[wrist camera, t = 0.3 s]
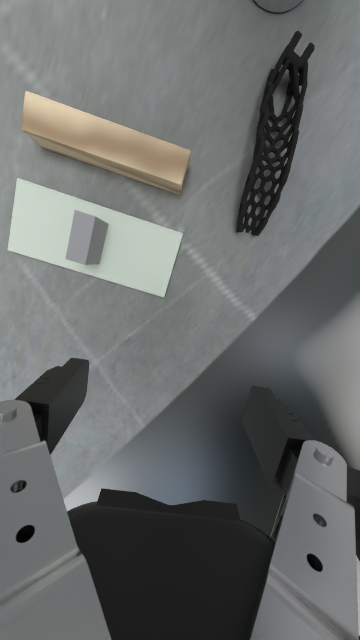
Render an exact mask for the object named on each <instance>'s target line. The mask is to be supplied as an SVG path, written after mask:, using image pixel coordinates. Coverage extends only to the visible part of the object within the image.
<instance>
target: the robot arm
mask: <svg viewBox="0 0 360 640" xmlns="http://www.w3.org/2000/svg"><path fill="white" fill-rule="evenodd" d="M254 1H255V2H256V3H257V4H258V5H259V6H261V7H262V8H264V9H265V10H268V11H271V12H285V11H288V10H291V9H292V8H294V7H296V6H297V5H298V4H299V3H301V2H302V1H303V0H254ZM88 372H89V361H88V360H85V359H78V358H71V359H70V360H69V361H68V362H67V363H66V364H65V365H63V366H62V367H60V366H57V367H54V368H52V369H50V370H47V371H46V372H45V373H44V374H43V375H42V376H40V378H38V379H37V380H36V381H35V382H34V384H31V385H30V386H29V387H28V388H27V389H26V390H25V391H24V392H23V393H21V394H20V395H19V396H18V397H17V398H16V399H15V400H7V401H2V402H0V640H360V636H359V635H358V607H357V606H358V604H357V573H356V555H357V557H358V559H359V561H360V471H359V470H356V469H353V468H351V467H348V466H347V465H346V463H345V461H344V459H343V458H342V457H341V456H340V455H339V454H338V453H337V452H336V451H335V450H333V449H332V448H330V447H329V446H327V445H325V444H323V443H320V442H318V441H314V440H313V439H312V437H311V436H310V435H309V433H308V432H307V431H306V430H305V428H304V427H303V426H302V424H301V423H300V422H298V419H297V418H296V416H294V415H293V412H291V410H290V409H289V407H288V406H287V405H285V404H284V403H283V402H282V401H280V400H279V399H277V398H276V397H275V395H274V394H273V392H272V391H271V390H270V388H267V387H261V386H252V387H251V389H250V393H249V396H248V400H247V403H246V407H245V411H244V415H243V422H244V426H245V429H246V431H247V434H248V436H249V438H250V441H251V443H252V446H253V448H254V450H255V453H256V455H257V457H258V460H259V462H260V465H261V467H262V469H263V472H264V474H265V477H266V479H267V481H268V484H269V486H270V488H271V489H278V490H283V491H284V497H283V500H282V502H281V505H280V508H279V512H278V515H277V518H276V521H275V524H274V528H273V531H272V534H271V537H269V536H268V535H267V534H265V532H263V531H262V530H261V529H259V528H258V527H256V526H255V525H253V524H252V523H250V522H248V521H246V520H244V519H242V518H240V516H239V512H238V508H237V504H232V503H223V502H214V501H205V500H203V501H197V502H191V503H185V504H179V505H167V504H164V503H162V502H159V501H156V500H154V499H151V498H149V497H146V496H144V495H141V494H138V493H136V492H127V491H119V490H110V489H101V492H100V495H99V498H98V501H97V502H91V503H87V504H84V505H81V506H78V507H76V508H73V509H71V510H69V511H66V507H65V504H64V500H63V497H62V494H61V490H60V487H59V484H58V480H57V477H56V473H55V470H54V467H53V463H52V460H51V457H50V455H51V453H52V452H53V450H54V448H55V447H56V445H57V444H58V442H59V440H60V439H61V437H62V436H63V434H64V432H65V431H66V429H67V428H68V426H69V424H70V423H71V421H72V420H73V418H74V416H75V415H76V413H77V412H78V410H79V408H80V407H81V405H82V404H83V402H84V399H85V396H86V392H87V383H88Z"/></svg>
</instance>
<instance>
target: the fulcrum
mask: <svg viewBox="0 0 360 640" xmlns="http://www.w3.org/2000/svg"><path fill="white" fill-rule="evenodd" d="M182 235H183V233H180V232H177V231H174V230H171V229H168V228H165V227H162V226H159V225H156V224H153V223H150V222H147V221H144V220H141V219H138V218H135V217H132V216H129V215H126V214H123V213H120V212H117V211H114V210H111V209H108V208H105V207H102V206H99V205H96V204H93V203H90V202H87V201H84V200H81V199H78V198H75V197H72V196H70V195H67V194H64V193H61V192H58V191H55V190H52V189H49V188H46V187H43V186H40V185H37V184H34V183H31V182H28V181H25V180H22V179H19V178H17V184H16V192H15V199H14V207H13V214H12V222H11V229H10V237H9V244H8V250H9V251H12V252H16V253H19V254H22V255H25V256H29V257H32V258H35V259H39V260H42V261H45V262H49V263H52V264H55V265H58V266H62V267H65V268H68V269H72V270H75V271H78V272H81V273H85V274H88V275H91V276H95V277H98V278H101V279H105V280H108V281H111V282H114V283H118V284H121V285H124V286H128V287H131V288H134V289H137V290H141V291H144V292H147V293H151V294H154V295H157V296H161V297H164V296H165V292H166V289H167V286H168V282H169V279H170V276H171V272H172V269H173V266H174V262H175V259H176V256H177V252H178V249H179V245H180V242H181V239H182Z"/></svg>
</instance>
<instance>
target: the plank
mask: <svg viewBox="0 0 360 640" xmlns="http://www.w3.org/2000/svg"><path fill="white" fill-rule="evenodd" d="M21 130H22V131H23V132H25V133H26V134H27V135H28V136H29V137H30V138H31V139H33V140H34V141H35V142H36V143H37V144H38V145H40V146H41V147H42V148H44V149H47V150H50V151H53V152H56V153H59V154H62V155H65V156H68V157H71V158H74V159H77V160H80V161H82V162H85V163H88V164H91V165H94V166H97V167H100V168H103V169H106V170H109V171H112V172H115V173H118V174H120V175H123V176H126V177H129V178H132V179H135V180H138V181H141V182H144V183H147V184H150V185H153V186H156V187H158V188H161V189H164V190H167V191H170V192H173V193H176V194H179V195H180V194H181V191H182V187H183V183H184V180H185V176H186V173H187V169H188V165H189V159H190V153H191V151H190V150H188V149H185V148H182V147H179V146H177V145H174V144H171V143H168V142H166V141H163V140H160V139H157V138H155V137H152V136H149V135H146V134H144V133H141V132H138V131H135V130H133V129H130V128H127V127H124V126H122V125H119V124H116V123H113V122H110V121H108V120H105V119H102V118H99V117H97V116H94V115H91V114H88V113H86V112H83V111H80V110H77V109H75V108H72V107H69V106H66V105H64V104H61V103H58V102H55V101H53V100H50V99H47V98H44V97H42V96H39V95H36V94H33V93H31V92H28V91H26V92H25V100H24V108H23V116H22V124H21Z"/></svg>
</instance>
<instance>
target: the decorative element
mask: <svg viewBox="0 0 360 640" xmlns="http://www.w3.org/2000/svg"><path fill="white" fill-rule="evenodd" d="M301 36H302V34H301V33H300V32H299V31H296V32H295V34H294V36H293V37H292V39H291V41H290V43H289V44H288V45H287V47H286V48H285V50H284V51H283V53H282V55H281V57H280V59H279V61H278V62H277V64H276V66H275V68H274V69H271V71H270V73H269V76H268V79H267V83H266V87H265V91H264V96H263V100H262V104H261V110H260V118H259V122H258V127H257V137H256V145H255V150H254V156H253V163H252V167H251V170H250V173H249V175H248V177H247V180H246V184H245V188H244V192H243V196H242V200H241V204H240V209H239V215H238V224H237V232H243V231H244V229H245V228H246V232H247V233H249V231H250V230H251V229H252V233H251V234H252V235H256V236H258V235H259V234H260V233H261V231H262V230H263V229H264V227H265V226H266V224H267V222H268V219H269V217H270V215H271V213H272V212H273V210H274V209H275V208H276V206H277V204H278V202H279V199H280V194H281V191H282V189H283V187H284V185H285V183H286V181H287V178H288V175H289V172H290V168H291V163H292V159H293V155H294V152H295V148H296V144H297V140H298V134H299V130H298V128H299V123H300V119H301V115H302V110H303V100H304V96H305V92H306V88H307V74H308V59H309V57H310V56H311V54H312V52H313V51H314V45H313V44H312V43H309V45H308V46H307V48H306V49H305V51H304V53H303V54H302V56H301V57H299V56H298V55H297V54H296V53H295V52H294V51H293V50H294V49H295V47H296V45H297V43H298V42H299V40H300V38H301ZM282 64H283V67H282V68H281V70H280V72H279V69H280V67H281V65H282ZM286 69H287V70H289V77H290V82H289V86H288V90H287V95H288V98H287V101H286V104H285V106H284V109H283V112H282V114H281V115H280V116H279V117H276V116H275V114H274V106H273V97H272V94H273V93H274V91H275V89H276V87H277V85H278V84H279V82H280V80H281V78H282V76H283V74H284V73H285V71H286ZM298 72H299V75H298ZM299 86H302V89H301V93H300V95H299ZM292 96H293V97H294V100H295V103H294V105H293V107H292V109H291V110H290V112H287V110H288V107H289V104H290V101H291V98H292ZM268 102H269V110H270V112H269V110H268ZM295 111H296V112H295ZM294 112H295V114H294ZM293 114H294V116H293ZM292 117H293V118H292ZM268 118H270V119H271V120H272V121H273V122H274V126H272V127H270V125H269V123H268ZM283 118H287V122H286V123H285V124H284V125H283V126H282V127H280V126H278V123H279V122H280V121H281V120H282V119H283ZM290 124H291V127H290V129H289V131H288V132H287V134H286V135H283V132H284V130H285V129H286V128H287V127H288V126H289V125H290ZM264 127H265V129H266V131H267V132H266V135H265V132H264ZM273 131H277V132H279V135H278V136H277V137H276V138H275V139H273V138H272V136H271V135H270V134H271V132H273ZM292 133H293V134H292ZM291 134H292V136H291ZM290 136H291V139H290V141H289V142H288V139H289V137H290ZM265 140H268V141H269V143H270V144H271V145H270V148H268V149H267V147H266V145H265ZM280 140H284V142H283V144H282V146H281V147H280V148H279V149H277V148H275V144H276V143H277V142H278V141H280ZM287 147H288V148H287ZM285 148H287V152H286V153H285V154H284V155H283V157H281V156H280V153H281V152H282V151H283V150H284V149H285ZM270 152H273V153H275V154H276V155H275V157H274V158H272V159H270V158H269V157H268V153H270ZM263 153H264V154H263ZM262 154H263V155H262ZM287 158H288V160H287V163H286V164H285V166H284V162H285V160H286V159H287ZM262 160H264V161H266V162H267V163H268V165H265V166H264V165H263V163H262ZM277 161H278V162H280V164H279V165H278V166H276V167H273V166H272V164H273V163H275V162H277ZM257 167H259V168H260V172H259V173H258V174H256V173H255V171H256V168H257ZM268 169H269V170H270V171H271V174H270V175H269V176H267V177H265V176H264V174H263V173H264V170H268ZM278 170H281V174H280V177H279V178H278V179H276V178H275V176H274V175H275V173H276V172H277V171H278ZM258 178H260V179H261V181H262V182H261V185H260V188H258V189H256V190H255V188H254V184H255V182H256V180H257V179H258ZM269 180H271V181H272V186H271V188H270V190H269V191H267V192H265V190H264V186H265V183H266V182H267V181H269ZM278 183H279V186H278V189H277V192H276V193H275V194H274V190H275V187H276V185H277V184H278ZM250 191H251V192H252V195H251V198H250V200H249V201H247V197H248V194H249V192H250ZM259 192H260V193H261V194H262V197H261V200H260V201H259V202H257V203H256V202H255V200H254V199H255V196H256V194H257V193H259ZM269 195H270V197H271V199H270V201H269V203H268V204H267V205H266V206H265V204H264V201H265V198H266V197H267V196H269ZM250 204H252V206H253V208H252V211H251V212H250V213H249V214H248V213H247V210H248V206H249V205H250ZM259 206H261V208H262V210H261V212H260V214H259V215H258V216H256V214H255V211H256V208H257V207H259ZM267 209H268V212H267V214H266V216H265V217H264V218H263V216H264V213H265V211H266V210H267ZM244 216H245V221H244V224H243V217H244ZM250 217H252V218H253V221H252V224H251V225H250V226H249V225H248V221H249V218H250ZM259 219H260V222H259V224H258V226H257V227H256V228H255V225H256V222H257V220H259Z"/></svg>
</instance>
